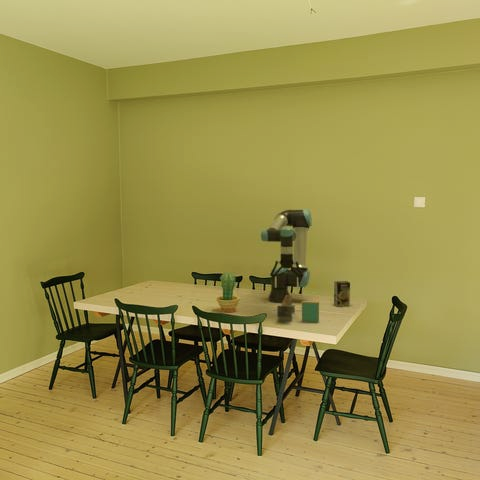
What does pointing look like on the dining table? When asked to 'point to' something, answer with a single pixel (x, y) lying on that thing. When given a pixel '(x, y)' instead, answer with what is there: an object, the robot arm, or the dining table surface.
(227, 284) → the potted cactus
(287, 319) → the tool rack
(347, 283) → the coffee box
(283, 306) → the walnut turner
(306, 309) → the green rectangular panel
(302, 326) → the dining table surface
